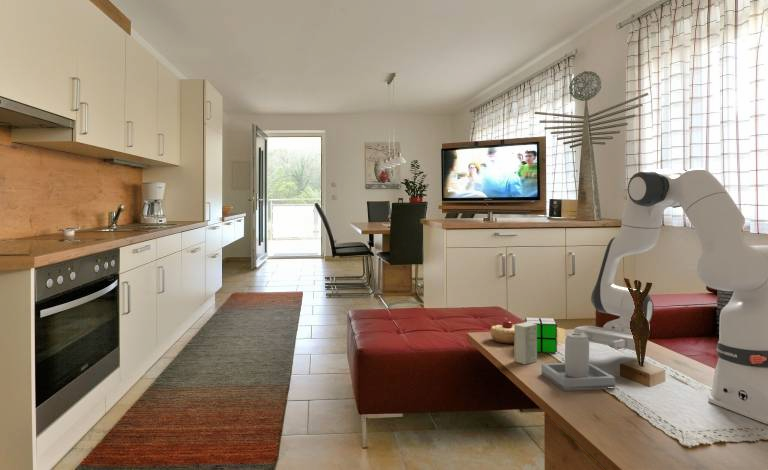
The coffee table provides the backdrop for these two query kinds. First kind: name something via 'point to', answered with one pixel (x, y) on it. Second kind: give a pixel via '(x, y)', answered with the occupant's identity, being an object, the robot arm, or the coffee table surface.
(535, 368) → the coffee table surface
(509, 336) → the pastry
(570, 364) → the beverage can
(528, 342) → the skincare box
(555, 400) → the coffee table surface
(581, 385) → the tray
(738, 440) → the coffee table surface
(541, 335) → the puzzle cube
